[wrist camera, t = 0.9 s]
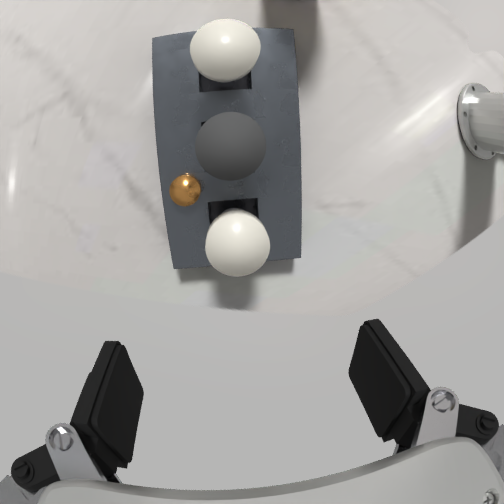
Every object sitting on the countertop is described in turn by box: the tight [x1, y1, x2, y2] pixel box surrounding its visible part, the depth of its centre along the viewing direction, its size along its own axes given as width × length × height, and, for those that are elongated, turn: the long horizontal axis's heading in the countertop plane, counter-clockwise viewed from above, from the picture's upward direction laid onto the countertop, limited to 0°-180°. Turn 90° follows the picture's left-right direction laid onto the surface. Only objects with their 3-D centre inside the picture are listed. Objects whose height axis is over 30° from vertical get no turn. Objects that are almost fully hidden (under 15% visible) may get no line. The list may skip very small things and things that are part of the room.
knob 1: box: [190, 19, 261, 83], centre depth 19 cm, size 5×5×6 cm
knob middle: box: [195, 112, 266, 181], centre depth 22 cm, size 5×5×6 cm
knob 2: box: [205, 208, 270, 277], centre depth 25 cm, size 5×5×6 cm
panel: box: [152, 28, 302, 269], centre depth 26 cm, size 25×14×4 cm, turn 3°
